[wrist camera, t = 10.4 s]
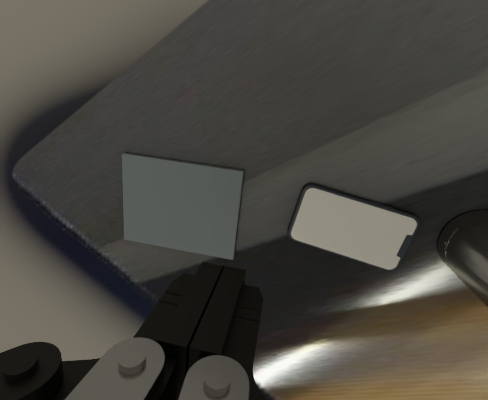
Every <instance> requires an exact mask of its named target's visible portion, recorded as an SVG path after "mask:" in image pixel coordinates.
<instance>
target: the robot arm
mask: <svg viewBox="0 0 488 400" xmlns="http://www.w3.org/2000/svg"><path fill="white" fill-rule="evenodd" d="M438 251H439V255H440V257H441V259H442V260H443V262H444V263H445V264H446V265H447V266H448V267H449V268H450V269H451V270H452V271H453V272H454V273H455V274H456V275H457V276H458V277H459V278H460V279H461V280H462V282H463V283H464V284H465V285H466V286H467V287H468V288H469V289H470V290H471V291H472V292H473V293H474V294H475V295H476V296H477V297H478V298H479V299H480V300H481V301H482V302H483V303H484V304H485V305H486V306H487V307H488V210H477V211H471V212H468V213H465V214H462V215H460V216H458V217H457V218H455V219H453V220H452V221H451V222H450V223H449V224H447V226H446V227H445V228H444V229H443V231H442V233H441V235H440V237H439V241H438ZM245 278H246V270H245V269H240V268H234V267H229V266H225V267H224V266H223V265H218V264H213V263H208V262H202V264H201V265H200V267H199V269H198V270H197V272H196V274H195V275H191V274H186V273H184V274H183V275H181V276H180V277H178V278H177V279H175V280H173V281H172V283H171V284H170V286H169V287H168V289H167V290H166V292H165V293H164V294H163V296H162V297H161V299H160V300H159V303H157V304H156V306H155V307H154V309H153V310H152V312H151V313H150V314H149V316H148V317H147V319H146V320H145V322H144V323H143V325H142V326H141V327H140V329H139V330H138V332H137V333H136V335H135V336H134V337H133V338H130V339H127V340H124V341H121V342H119V343H117V344H116V345H114V346H113V347H111V348H110V349H109V350H108V351H107V352H106V353H105V354H104V355H103V356H102V357H101V358H98V359H92V360H77V361H62V358H61V353H60V351H59V349H58V348H57V347H56V346H55V345H53V344H50V343H46V342H34V343H28V344H24V345H21V346H18V347H15V348H13V349H10V350H7V351H5V352H2V353H0V400H268V399H267V398H266V397H265V396H264V395H263V394H262V393H261V392H260V390H259V389H258V387H257V385H256V383H255V381H254V377H253V361H254V355H255V349H256V342H257V336H258V330H259V323H260V317H261V311H262V304H263V297H262V295H261V292H260V290H259V288H257V287H252V286H247V285H245Z"/></svg>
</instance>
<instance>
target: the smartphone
mask: <svg viewBox="0 0 488 400" xmlns="http://www.w3.org/2000/svg"><path fill="white" fill-rule="evenodd" d="M419 227H420V221H419V219H418V218H417V217H416V216H415V215H413V214H411V213H408V212H405V211H401V210H398V209H395V208H393V207H390V206H387V205H384V204H383V205H382V204H380V203H377V202H374V201H369V200H365V199H362V198H359V197H356V196H352V195H349V194H346V193H343V192H339V191H336V190H333V189H330V188H326V187H323V186H320V185H316V184H313V183H309V184H306V185H305V186H304V187H303V188H302V190H301V193H300V196H299V199H298V202H297V204H296V207H295V210H294V213H293V216H292V219H291V221H290V224H289V227H288V236H289V238H290V239H291V240H292V241H295V242H298V243H301V244H304V245H307V246H310V247H313V248H317V249H320V250H323V251H326V252H329V253H332V254H335V255H338V256H341V257H344V258H347V259H350V260H353V261H356V262H360V263H363V264H366V265H369V266H372V267H375V268H378V269H382V270H385V271H389V272H391V271H395V270H396V269H398V268H399V266H400V264H401V262H402V260H403V258H404V256H405V254H406V252H407V250H408V248H409V246H410V245H411V243H412V241H413V239H414V237H415V235H416V233H417V231H418V229H419Z"/></svg>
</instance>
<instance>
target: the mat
mask: <svg viewBox="0 0 488 400" xmlns="http://www.w3.org/2000/svg"><path fill="white" fill-rule="evenodd" d="M122 172H123V211H124V240H130V241H135V242H140V243H146V244H151V245H156V246H162V247H167V248H172V249H178V250H183V251H188V252H193V253H199V254H204V255H209V256H215V257H220V258H225V259H231V260H233V259H234V255H235V246H236V238H237V229H238V221H239V212H240V203H241V195H242V186H243V178H244V170H240V169H233V168H227V167H220V166H213V165H207V164H200V163H193V162H187V161H180V160H173V159H167V158H160V157H153V156H146V155H140V154H133V153H122Z"/></svg>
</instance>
